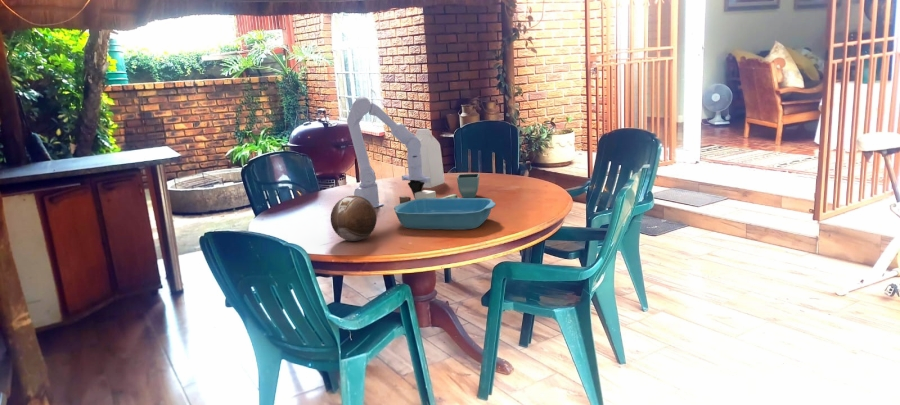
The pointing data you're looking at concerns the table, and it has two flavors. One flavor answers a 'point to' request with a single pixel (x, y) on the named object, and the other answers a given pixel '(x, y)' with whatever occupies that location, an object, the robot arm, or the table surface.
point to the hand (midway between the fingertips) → (417, 198)
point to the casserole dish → (444, 213)
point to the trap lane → (406, 199)
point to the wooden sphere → (353, 218)
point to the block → (425, 194)
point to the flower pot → (468, 185)
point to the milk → (430, 158)
